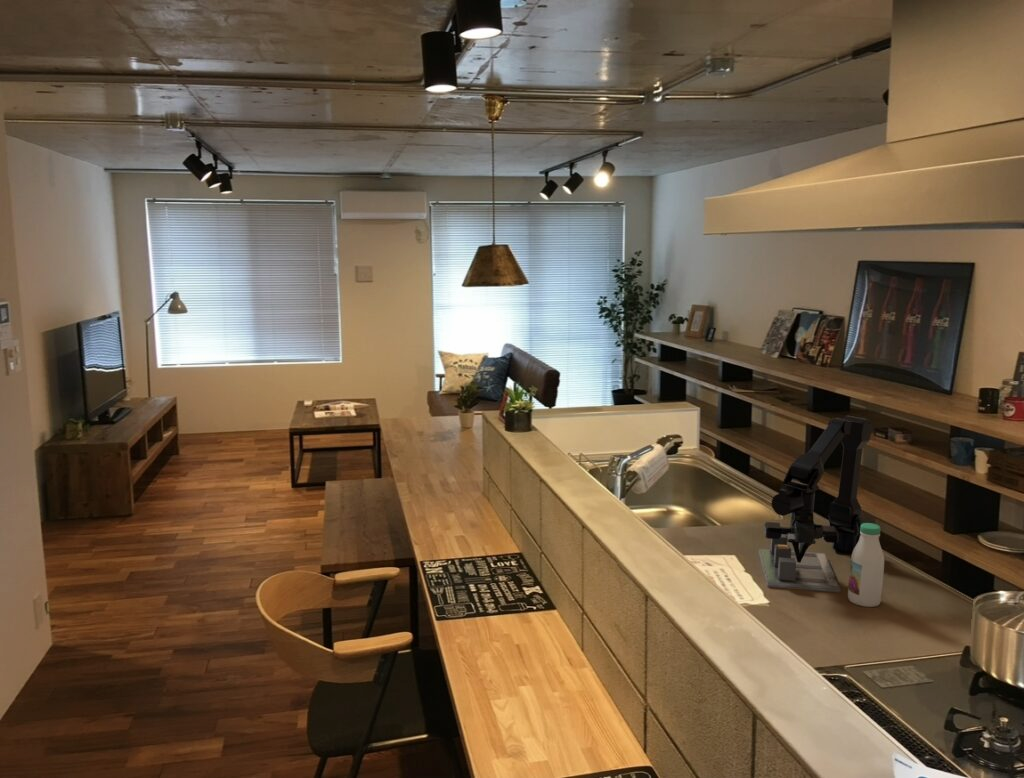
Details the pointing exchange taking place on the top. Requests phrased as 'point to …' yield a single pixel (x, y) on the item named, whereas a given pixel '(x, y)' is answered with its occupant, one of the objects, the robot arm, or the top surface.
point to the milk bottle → (866, 568)
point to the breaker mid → (781, 553)
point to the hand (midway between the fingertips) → (798, 562)
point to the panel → (801, 572)
